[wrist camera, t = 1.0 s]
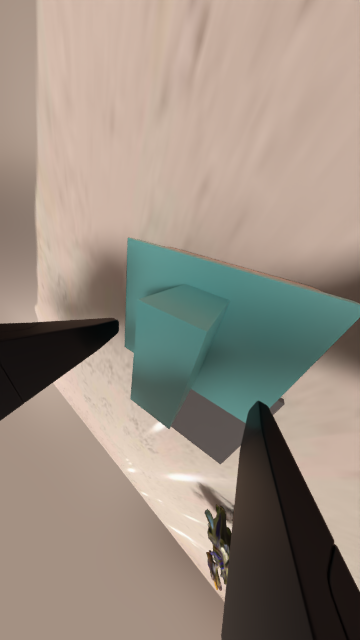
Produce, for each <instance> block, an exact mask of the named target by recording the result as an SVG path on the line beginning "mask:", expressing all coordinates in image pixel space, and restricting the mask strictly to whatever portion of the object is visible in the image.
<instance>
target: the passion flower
mask: <svg viewBox="0 0 360 640" xmlns="http://www.w3.org/2000/svg"><path fill="white" fill-rule="evenodd" d="M216 511H217V515H216V518H214V519H213V517H212V514H211V513H210V511H209V510H208V509H207V510H206V511H205V515H206V517H207V519H208V522H209V523H208V527H209V528H208V538H209V539H210V541H211V542H212V544H213V552H211V550H209V552H206V554H207V557H208V566H209V568H210V573H211V578H212V580H214V583H215V587H216V589H217V590H218V588H219V590H220V591H221V590H222V586H221V582H220V579H219V575H218V568H219V567H220V568H221V575H220V576H221V577H223V579H224V584H227V575H228V565H229V555H230V545H231V535H232V533H231V530H230V529H229V528H228V527H226V514H225V511H224V509H223V508H222V507H221V506H220V507H218V505H216ZM212 555H213V556H214V558H213V557H212ZM213 560H215V561H216V563H215V562H214V561H213Z"/></svg>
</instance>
